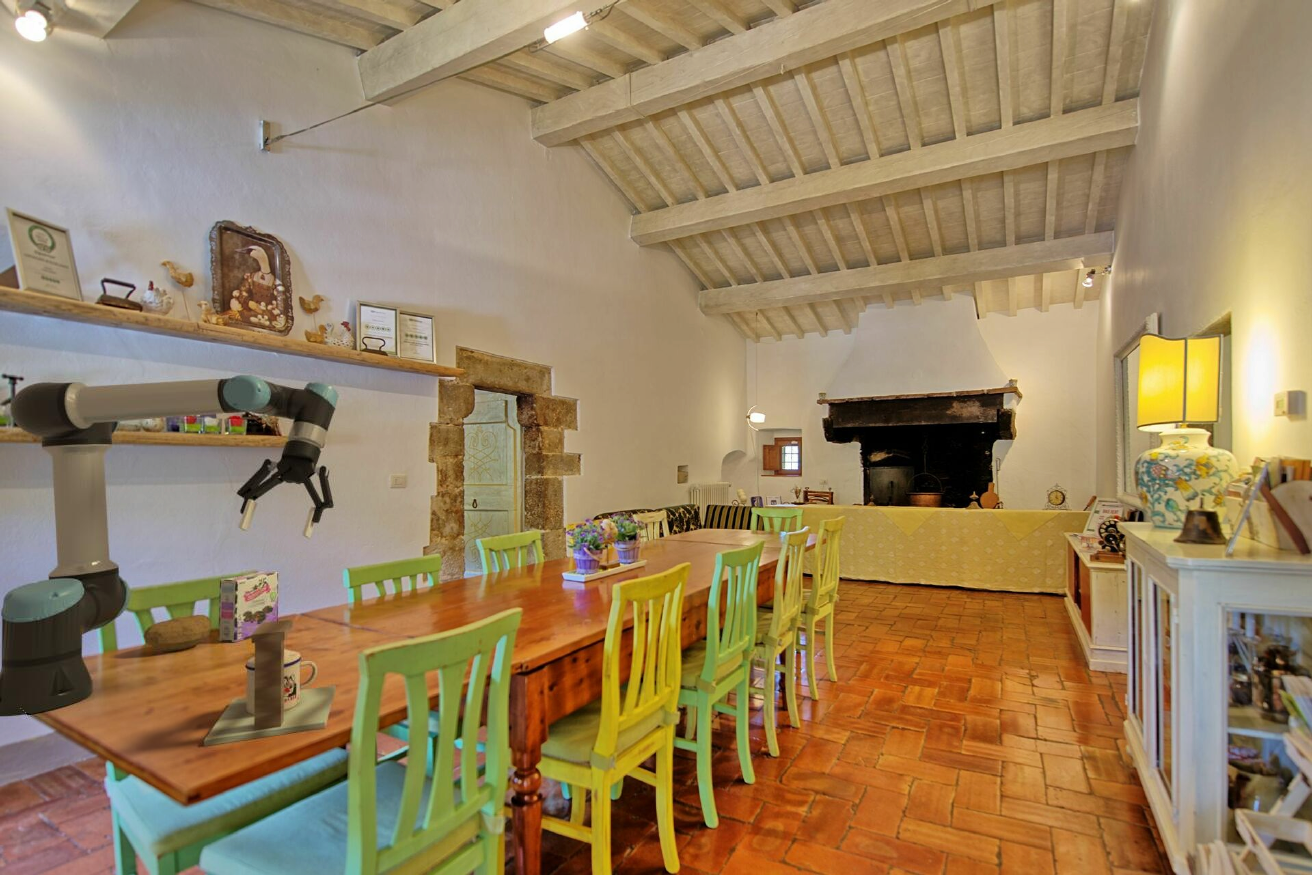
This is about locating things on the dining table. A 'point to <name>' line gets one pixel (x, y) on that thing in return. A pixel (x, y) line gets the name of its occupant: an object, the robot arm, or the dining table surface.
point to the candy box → (247, 604)
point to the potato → (178, 633)
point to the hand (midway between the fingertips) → (274, 532)
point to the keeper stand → (271, 696)
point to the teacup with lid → (290, 679)
